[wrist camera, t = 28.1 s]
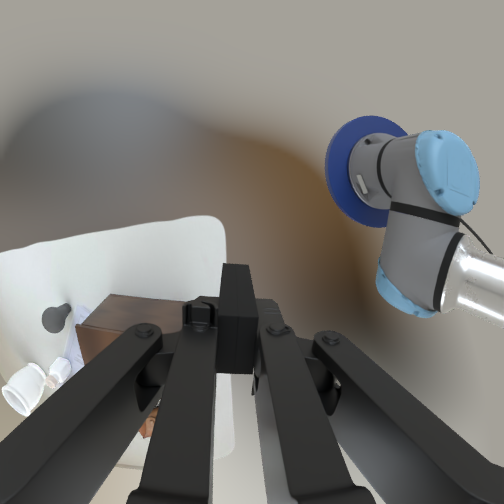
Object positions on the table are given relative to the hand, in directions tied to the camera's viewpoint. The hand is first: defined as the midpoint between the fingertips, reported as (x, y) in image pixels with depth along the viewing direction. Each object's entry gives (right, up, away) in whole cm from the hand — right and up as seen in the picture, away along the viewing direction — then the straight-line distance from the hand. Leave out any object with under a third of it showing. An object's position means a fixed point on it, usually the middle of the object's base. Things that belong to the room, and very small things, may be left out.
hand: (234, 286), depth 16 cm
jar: (-63, -34, +40) cm, 82 cm away
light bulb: (-41, -10, +35) cm, 55 cm away
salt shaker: (-48, -27, +39) cm, 68 cm away
